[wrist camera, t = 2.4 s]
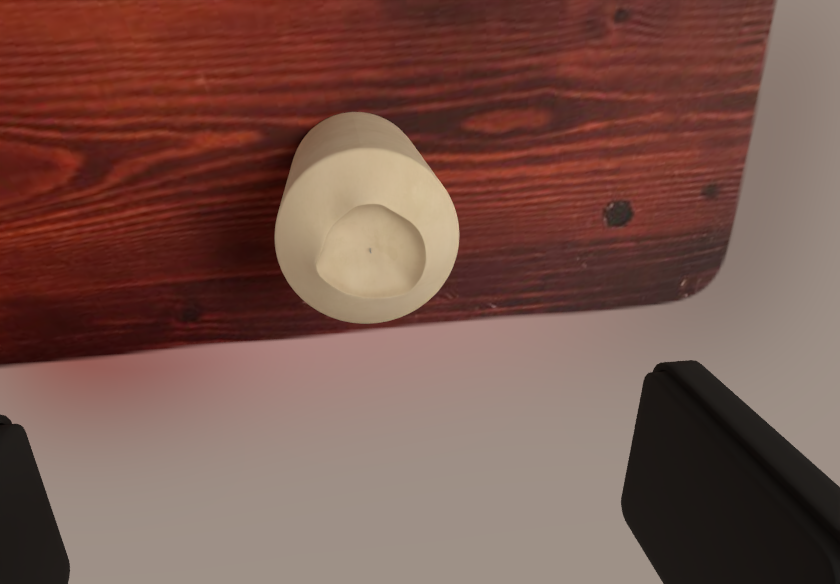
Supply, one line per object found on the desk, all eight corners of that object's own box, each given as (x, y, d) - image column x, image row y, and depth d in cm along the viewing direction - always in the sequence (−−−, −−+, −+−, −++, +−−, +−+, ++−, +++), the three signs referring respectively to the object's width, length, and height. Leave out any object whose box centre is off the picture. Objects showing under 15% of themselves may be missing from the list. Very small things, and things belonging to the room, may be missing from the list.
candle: (300, 242, 26) (284, 356, 17) (283, 114, 24) (254, 166, 15) (422, 232, 27) (470, 336, 18) (417, 106, 24) (470, 151, 15)
